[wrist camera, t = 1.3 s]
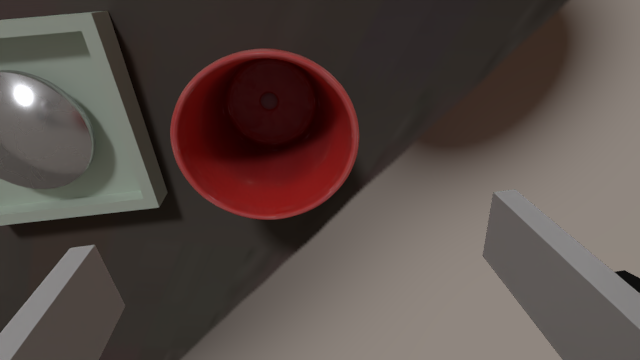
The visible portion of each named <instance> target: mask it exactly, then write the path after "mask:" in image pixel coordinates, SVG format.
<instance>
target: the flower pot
mask: <svg viewBox="0 0 640 360" xmlns="http://www.w3.org/2000/svg"><path fill="white" fill-rule="evenodd" d="M170 137H171V145H172V150H173V153H174V157H175V159H176V162H177V164H178V166H179V168H180V170H181V172H182V173H183V175H184V176H185V178H186V179H187V181H188V182H189V183H190V184H191V186H192V187H193V188H194V189H195V190H196V191H197V192H198V193H199V194H200V195H202V196H203V197H204V198H205V199H207V200H208V201H209V202H211V203H213V204H214V205H216V206H218V207H220V208H222V209H223V210H226V211H228V212H230V213H233V214H236V215H239V216H243V217H247V218H252V219H260V220H275V219H283V218H288V217H292V216H296V215H299V214H302V213H305V212H307V211H309V210H311V209H313V208H315V207H317V206H319V205H320V204H322V203H323V202H325V201H326V200H327V199H329V198H330V197H331V196H332V195H333V194H334V193H335V192H336V191H337V190H338V189H339V188H340V187H341V186H342V185H343V183H344V182H345V180H346V179H347V177H348V176H349V174H350V172H351V170H352V167H353V165H354V162H355V160H356V157H357V152H358V145H359V125H358V120H357V116H356V112H355V109H354V106H353V104H352V102H351V99H350V98H349V96H348V94H347V92H346V91H345V89H344V88H343V86H342V85H341V84H340V83H339V82H338V80H337V79H336V78H335V77H334V76H333V75H332V74H330V73H329V72H328V71H327V70H326V69H324V68H323V67H321V66H320V65H318V64H317V63H315V62H313V61H312V60H310V59H308V58H306V57H303V56H301V55H298V54H295V53H292V52H288V51H283V50H278V49H252V50H246V51H241V52H237V53H233V54H231V55H228V56H225V57H223V58H221V59H219V60H217V61H215V62H213V63H211V64H210V65H208V66H207V67H205V68H204V69H203V70H201V71H200V72H199V73H198V74H197V75H196V76H195V77H194V78H193V79H192V80H191V81H190V82H189V83H188V85H187V86H186V87H185V89H184V90H183V92H182V93H181V95H180V97H179V99H178V101H177V103H176V106H175V109H174V112H173V116H172V121H171V128H170Z"/></svg>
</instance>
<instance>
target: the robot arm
mask: <svg viewBox="0 0 640 360" xmlns="http://www.w3.org/2000/svg"><path fill="white" fill-rule="evenodd" d="M483 257H484V258H485V259H486V260H487V262H488V263H489V265H490V266H491V267H492V268H493V270H494V271H495V272H496V273H497V275H498V276H499V278H500V279H501V280H502V281H503V283H504V284H505V285H506V287H507V288H508V289H509V291H510V292H511V293H512V294H513V296H514V297H515V298H516V300H517V301H518V302H519V304H520V305H521V306H522V307H523V309H524V310H525V311H526V312H527V314H528V315H529V316H530V318H531V319H532V320H533V322H534V323H535V324H536V326H537V327H538V328H539V330H540V331H541V332H542V333H543V335H544V336H545V337H546V339H547V340H548V341H549V342H550V344H551V345H552V346H553V348H554V349H555V350H556V351H557V353H558V354H559V355H560V357H561V358H562V359H563V360H640V278H638V277H636V276H634V275H632V274H630V273H628V272H626V271H617V272H613V271H612V270H611V269H610V268H609V267H608V266H606V265H605V264H604V263H603V262H601V261H600V260H599V259H598V258H597V257H596V256H594V255H593V254H592V253H591V252H590V251H588V250H587V249H586V248H585V247H584V246H582V245H581V244H580V243H579V242H578V241H576V240H575V239H574V238H573V237H572V236H570V235H569V234H568V233H567V232H566V231H564V230H563V229H562V228H561V227H560V226H559V225H557V224H556V223H555V222H554V221H552V220H551V219H550V218H549V217H548V216H546V215H545V214H544V213H543V212H542V211H540V210H539V209H538V208H537V207H536V206H535V205H533V204H532V203H531V202H530V201H529V200H527V199H526V198H525V197H524V196H523V195H521V194H520V193H519V192H518V191H517V190H515V189H514V190H507V191H500V192H494V193H493V198H492V203H491V209H490V215H489V221H488V227H487V233H486V239H485V245H484V251H483ZM124 307H125V305H124V303H123V301H122V299H121V297H120V295H119V293H118V291H117V288H116V286H115V284H114V282H113V280H112V278H111V276H110V274H109V272H108V270H107V268H106V266H105V264H104V262H103V260H102V258H101V256H100V254H99V252H98V250H97V248H96V246H95V245H90V246H82V247H75V248H70V249H69V250H68V251H67V253H66V254H65V255H64V256H63V258H62V259H61V260H60V261H59V262H58V264H57V265H56V266H55V267H54V268H53V270H52V271H51V272H50V273H49V275H48V276H47V277H46V278H45V279H44V281H43V282H42V283H41V284H40V286H39V287H38V288H37V289H36V290H35V292H34V293H33V294H32V295H31V296H30V298H29V299H28V300H27V301H26V303H25V304H24V305H23V306H22V307H21V309H20V310H19V311H18V312H17V314H16V315H15V316H14V317H13V318H12V320H11V321H10V322H9V323H8V324H7V326H6V327H5V328H4V329H3V331H2V332H1V333H0V360H99V358H100V356H101V354H102V352H103V350H104V348H105V346H106V344H107V342H108V340H109V338H110V336H111V334H112V332H113V329H114V327H115V325H116V323H117V321H118V319H119V317H120V315H121V313H122V311H123V309H124Z"/></svg>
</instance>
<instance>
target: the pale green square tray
mask: <svg viewBox="0 0 640 360" xmlns="http://www.w3.org/2000/svg"><path fill="white" fill-rule="evenodd" d="M0 70H15V71H22V72H26V73H30V74H33V75H36V76H39V77H41V78H43V79H46V80H48V81H50V82H51V83H53V84H55V85H57V86H58V87H59V88H61V89H62V90H64V91H65V92H66V93H67V94H69V95H70V96H71V97H72V98H73V99H74V100H75V101H76V102H77V103H78V104H79V105H80V107H81V108H82V109H83V110H84V112H85V114H86V115H87V117H88V118H89V120H90V123H91V125H92V127H93V130H94V134H95V139H96V150H95V155H94V158H93V161H92V163H91V165H90V166H89V167H88V169H87V170H86V171H85V172H84V173H83V174H82V175H81V176H79V177H78V178H77V179H76V180H74V181H73V182H71V183H69V184H67V185H65V186H61V187H58V188H52V189H33V188H26V187H22V186H18V185H15V184H12V183H9V182H7V181H5V180H2V179H0V226H1V225H10V224H18V223H27V222H36V221H45V220H54V219H63V218H71V217H80V216H89V215H98V214H107V213H116V212H124V211H133V210H142V209H151V208H159V207H160V205H161V204H162V202H163V200H164V198H165V196H166V195H167V193H168V192H167V189H166V186H165V183H164V180H163V177H162V174H161V171H160V168H159V165H158V162H157V159H156V156H155V153H154V150H153V147H152V144H151V141H150V138H149V135H148V131H147V128H146V125H145V122H144V119H143V116H142V113H141V110H140V107H139V104H138V101H137V98H136V95H135V92H134V89H133V86H132V83H131V80H130V77H129V74H128V71H127V68H126V65H125V62H124V59H123V55H122V52H121V49H120V46H119V43H118V40H117V37H116V34H115V31H114V28H113V25H112V22H111V19H110V16H109V13H108V11H99V12H88V13H76V14H65V15H53V16H41V17H30V18H18V19H7V20H0Z"/></svg>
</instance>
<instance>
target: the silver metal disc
mask: <svg viewBox="0 0 640 360" xmlns="http://www.w3.org/2000/svg"><path fill="white" fill-rule="evenodd" d="M95 150H96V139H95V134H94V130H93V127H92V125H91V123H90V120H89V118H88V117H87V115H86V114H85V112H84V110H83V109H82V108H81V107H80V105H79V104H78V103H77V102H76V101H75V100H74V99H73V98H72V97H71V96H70V95H69V94H67V93H66V92H65V91H64V90H62V89H61V88H59V87H58V86H57V85H55V84H53V83H51V82H50V81H48V80H46V79H43V78H41V77H39V76H36V75H33V74H30V73H26V72H22V71H15V70H0V179H2V180H5V181H7V182H9V183H12V184H15V185H18V186H22V187H26V188H33V189H52V188H58V187H61V186H65V185H67V184H69V183H71V182H73V181H74V180H76V179H77V178H78V177H79V176H81V175H82V174H83V173H84V172H85V171H86V170H87V169H88V167H89V166H90V165H91V163H92V161H93V158H94V155H95Z"/></svg>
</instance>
